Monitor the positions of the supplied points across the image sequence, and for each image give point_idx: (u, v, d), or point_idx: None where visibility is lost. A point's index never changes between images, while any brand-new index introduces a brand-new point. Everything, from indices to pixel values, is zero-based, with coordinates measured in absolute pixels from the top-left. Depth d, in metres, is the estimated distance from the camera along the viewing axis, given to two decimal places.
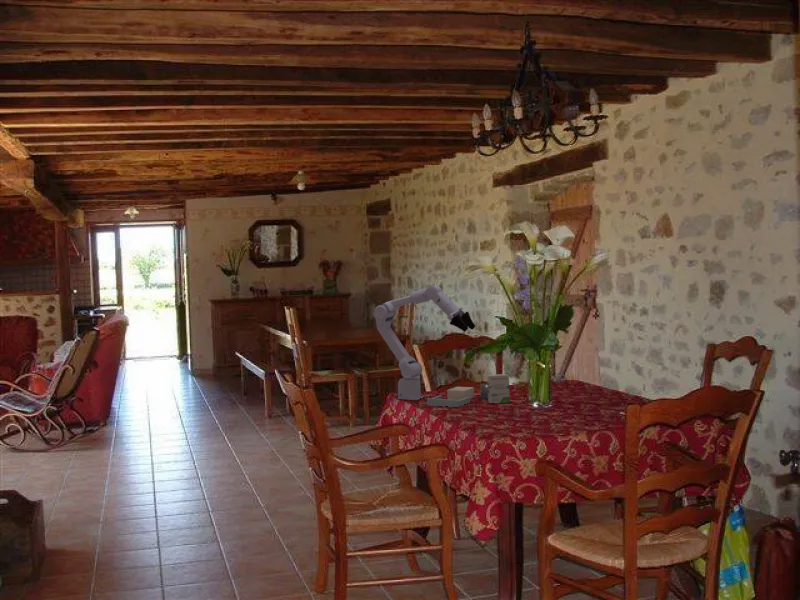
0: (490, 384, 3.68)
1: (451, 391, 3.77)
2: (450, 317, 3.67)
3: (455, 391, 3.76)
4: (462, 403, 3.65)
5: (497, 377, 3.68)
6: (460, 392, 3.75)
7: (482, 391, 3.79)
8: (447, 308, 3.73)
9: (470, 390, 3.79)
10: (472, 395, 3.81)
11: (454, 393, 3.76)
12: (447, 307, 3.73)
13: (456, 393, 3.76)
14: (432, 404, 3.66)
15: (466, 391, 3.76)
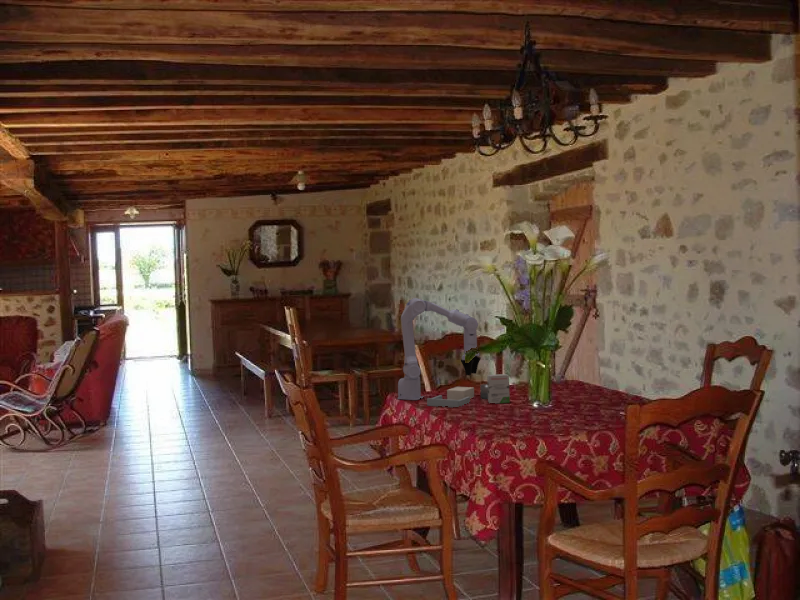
0: (490, 384, 3.68)
1: (451, 391, 3.77)
2: (464, 358, 3.83)
3: (455, 391, 3.76)
4: (462, 403, 3.65)
5: (497, 377, 3.68)
6: (460, 392, 3.75)
7: (482, 391, 3.79)
8: (468, 346, 3.87)
9: (470, 390, 3.79)
10: (472, 395, 3.81)
11: (454, 393, 3.76)
12: (469, 346, 3.86)
13: (456, 393, 3.76)
14: (432, 404, 3.66)
15: (466, 391, 3.76)
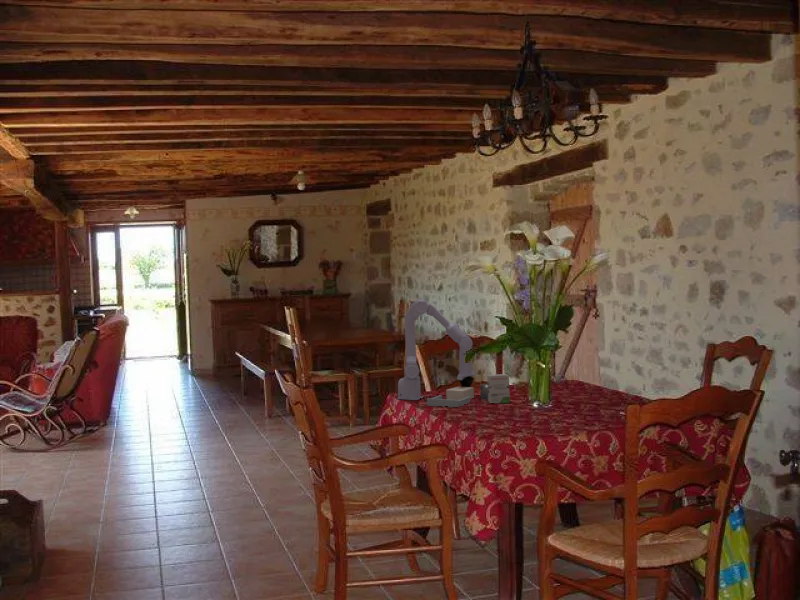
0: (490, 384, 3.68)
1: (450, 391, 3.76)
2: (459, 378, 3.79)
3: (454, 391, 3.75)
4: (462, 403, 3.65)
5: (497, 377, 3.68)
6: (459, 392, 3.74)
7: (482, 391, 3.79)
8: (464, 366, 3.82)
9: (470, 390, 3.79)
10: (472, 395, 3.80)
11: (453, 393, 3.76)
12: (464, 365, 3.82)
13: (455, 393, 3.75)
14: (432, 404, 3.66)
15: (465, 391, 3.75)
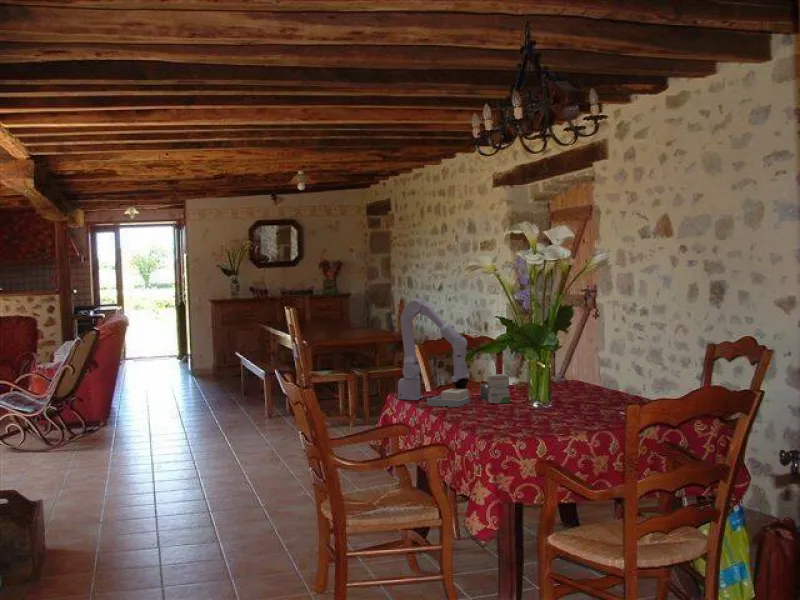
0: (490, 384, 3.68)
1: (445, 393, 3.71)
2: (454, 380, 3.74)
3: (449, 393, 3.70)
4: (462, 403, 3.65)
5: (497, 377, 3.68)
6: (454, 394, 3.69)
7: (482, 391, 3.79)
8: (458, 368, 3.77)
9: (464, 392, 3.74)
10: None
11: (448, 395, 3.70)
12: (459, 367, 3.77)
13: (450, 395, 3.70)
14: (432, 404, 3.66)
15: (461, 393, 3.70)
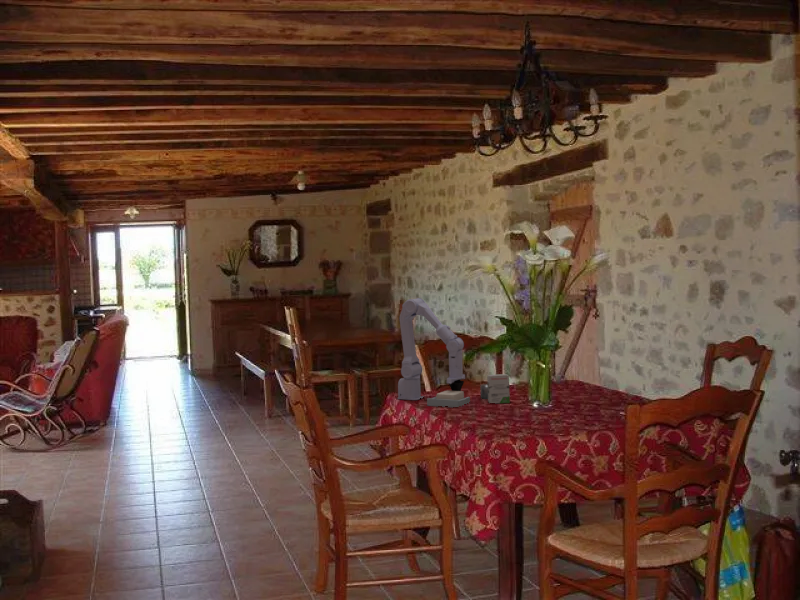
0: (490, 384, 3.68)
1: (440, 395, 3.67)
2: (449, 382, 3.69)
3: (445, 395, 3.66)
4: (462, 403, 3.65)
5: (497, 377, 3.68)
6: (450, 396, 3.65)
7: (482, 391, 3.79)
8: (453, 369, 3.73)
9: (460, 394, 3.70)
10: None
11: (444, 397, 3.66)
12: (454, 368, 3.73)
13: (446, 397, 3.66)
14: (432, 404, 3.66)
15: (456, 395, 3.66)
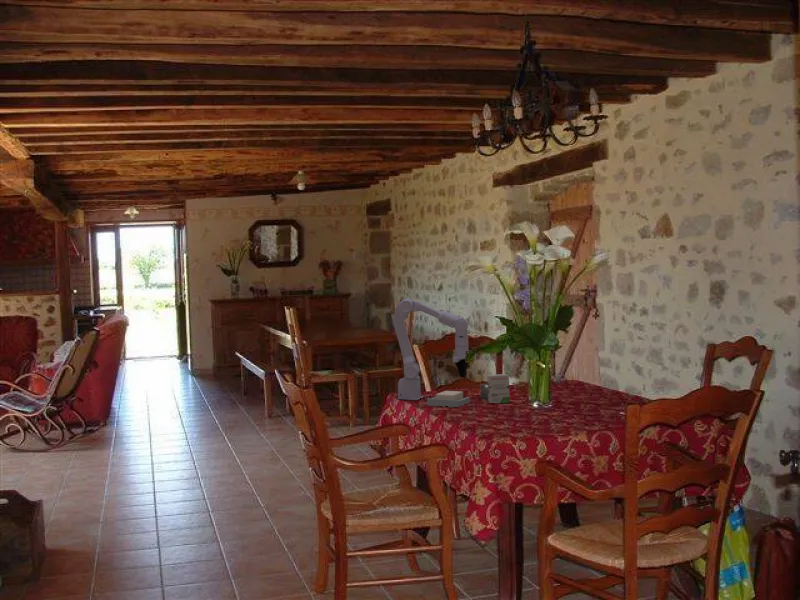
0: (490, 384, 3.68)
1: (440, 395, 3.66)
2: (455, 360, 3.76)
3: (444, 395, 3.65)
4: (462, 403, 3.65)
5: (497, 377, 3.68)
6: (449, 396, 3.64)
7: (482, 391, 3.79)
8: (459, 348, 3.80)
9: (459, 394, 3.69)
10: None
11: (443, 397, 3.66)
12: (460, 348, 3.80)
13: (445, 397, 3.65)
14: (432, 404, 3.66)
15: (455, 395, 3.66)
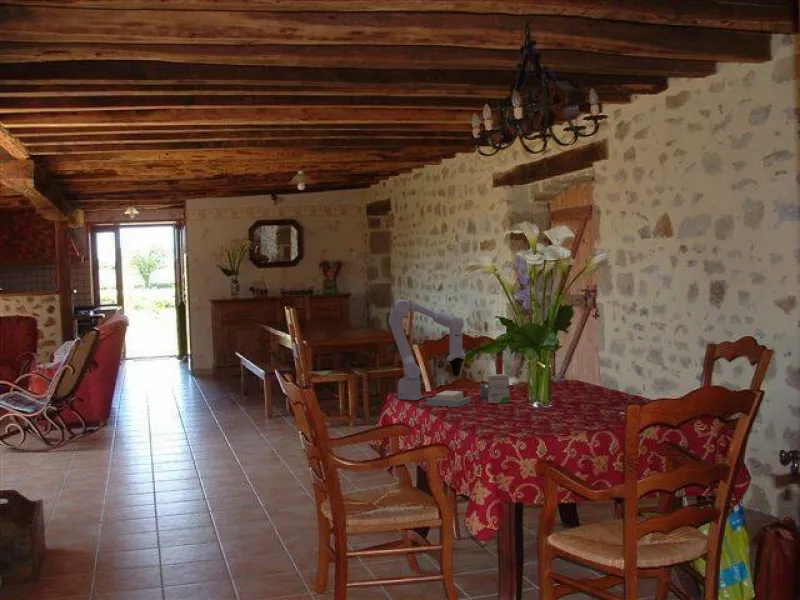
0: (490, 384, 3.68)
1: (440, 395, 3.66)
2: (449, 359, 3.81)
3: (444, 395, 3.65)
4: (462, 403, 3.65)
5: (497, 377, 3.68)
6: (449, 396, 3.64)
7: (482, 391, 3.79)
8: (454, 347, 3.85)
9: (459, 394, 3.69)
10: None
11: (443, 397, 3.66)
12: (454, 346, 3.85)
13: (445, 397, 3.65)
14: (432, 404, 3.66)
15: (455, 395, 3.66)
